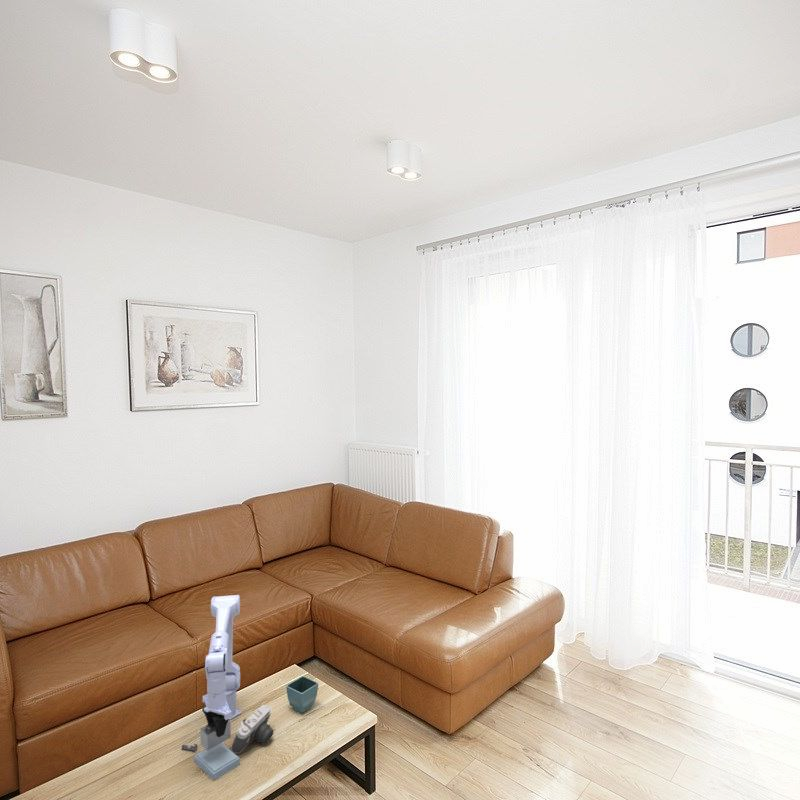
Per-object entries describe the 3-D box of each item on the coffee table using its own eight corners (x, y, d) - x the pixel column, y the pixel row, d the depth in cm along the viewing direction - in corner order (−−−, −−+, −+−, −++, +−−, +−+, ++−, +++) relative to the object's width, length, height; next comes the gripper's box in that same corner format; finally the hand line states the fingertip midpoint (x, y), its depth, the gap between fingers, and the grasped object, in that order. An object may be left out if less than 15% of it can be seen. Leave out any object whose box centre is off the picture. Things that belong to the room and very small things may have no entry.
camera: (226, 748, 168) (235, 724, 166) (258, 717, 183) (267, 695, 181) (247, 767, 165) (257, 742, 163) (277, 734, 180) (287, 711, 177)
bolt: (180, 750, 169) (180, 744, 169) (184, 746, 171) (184, 740, 171) (194, 752, 168) (193, 746, 168) (197, 748, 170) (197, 742, 170)
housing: (200, 744, 162) (200, 725, 162) (223, 731, 168) (223, 713, 168) (207, 750, 159) (207, 731, 159) (230, 737, 165) (230, 719, 165)
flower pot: (302, 697, 198) (302, 675, 198) (319, 706, 193) (319, 682, 193) (285, 709, 191) (285, 685, 191) (301, 718, 186) (301, 693, 185)
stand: (194, 761, 164) (194, 754, 164) (219, 747, 170) (219, 739, 170) (213, 780, 156) (213, 772, 156) (239, 764, 163) (239, 756, 163)
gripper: (193, 686, 165) (193, 728, 166) (216, 704, 156) (217, 748, 156) (213, 677, 171) (213, 717, 171) (237, 694, 161) (237, 736, 161)
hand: (216, 731), depth 164 cm, fingers closed on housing, 4 cm apart
